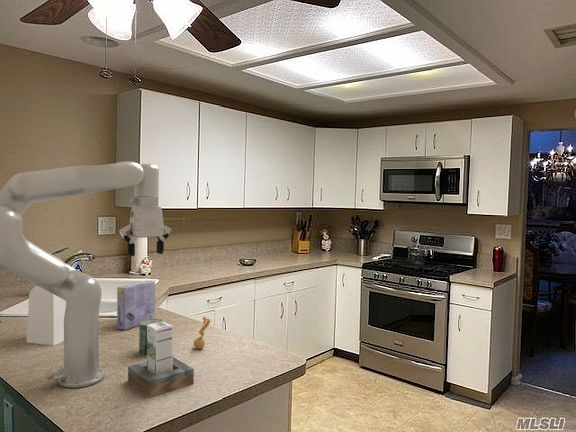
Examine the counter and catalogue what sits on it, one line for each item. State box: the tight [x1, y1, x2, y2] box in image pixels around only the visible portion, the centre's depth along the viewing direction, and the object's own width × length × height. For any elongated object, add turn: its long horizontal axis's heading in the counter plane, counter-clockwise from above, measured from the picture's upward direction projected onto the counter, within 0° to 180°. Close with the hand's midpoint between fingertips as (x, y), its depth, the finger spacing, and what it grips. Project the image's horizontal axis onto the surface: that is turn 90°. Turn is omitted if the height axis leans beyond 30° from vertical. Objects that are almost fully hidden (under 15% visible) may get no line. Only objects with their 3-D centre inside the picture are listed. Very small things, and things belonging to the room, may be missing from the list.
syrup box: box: [146, 321, 174, 375], centre depth 131 cm, size 6×6×14 cm
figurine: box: [193, 316, 211, 350], centre depth 161 cm, size 8×6×12 cm
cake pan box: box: [116, 280, 156, 331], centre depth 189 cm, size 19×5×18 cm, turn 155°
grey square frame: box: [127, 356, 195, 398], centre depth 132 cm, size 14×14×4 cm
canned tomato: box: [138, 318, 164, 358], centre depth 156 cm, size 8×8×11 cm
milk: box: [26, 285, 66, 346], centre depth 168 cm, size 12×12×26 cm
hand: (145, 254), depth 145 cm, fingers open, 9 cm apart
